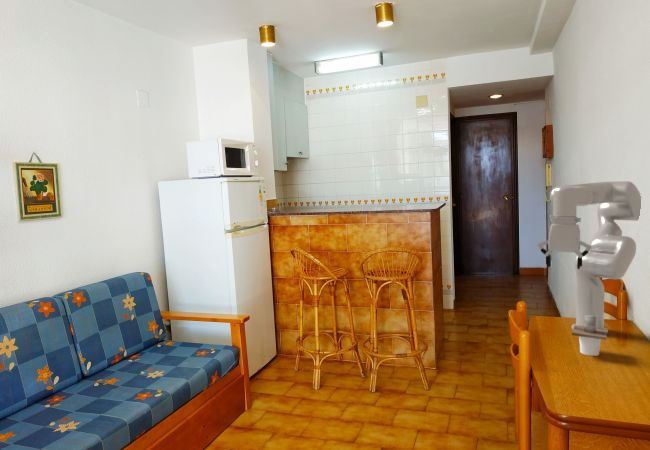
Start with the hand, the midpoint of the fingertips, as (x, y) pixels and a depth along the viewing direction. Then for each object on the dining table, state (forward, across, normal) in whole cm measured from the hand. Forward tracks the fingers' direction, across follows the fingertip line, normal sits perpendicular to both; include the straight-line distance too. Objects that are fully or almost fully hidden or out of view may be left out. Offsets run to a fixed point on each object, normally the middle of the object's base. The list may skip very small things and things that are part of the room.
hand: (563, 267), depth 167 cm
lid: (+21, -9, +7) cm, 24 cm away
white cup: (+28, -9, +7) cm, 31 cm away
